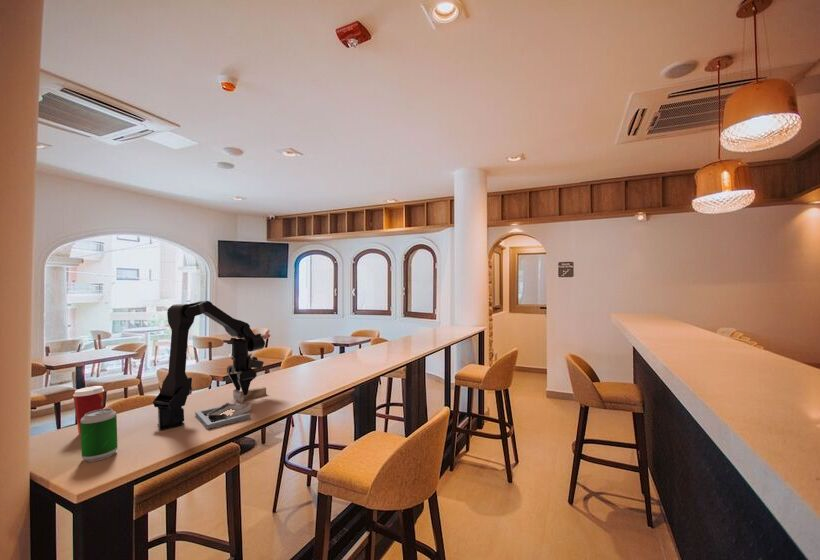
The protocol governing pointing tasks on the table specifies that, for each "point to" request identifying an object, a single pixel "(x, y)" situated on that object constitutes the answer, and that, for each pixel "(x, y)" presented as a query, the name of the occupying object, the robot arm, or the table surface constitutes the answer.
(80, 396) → the paper cup
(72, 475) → the table surface
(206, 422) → the tile frame
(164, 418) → the robot arm
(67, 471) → the table surface
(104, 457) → the soda can
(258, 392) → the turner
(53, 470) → the table surface
